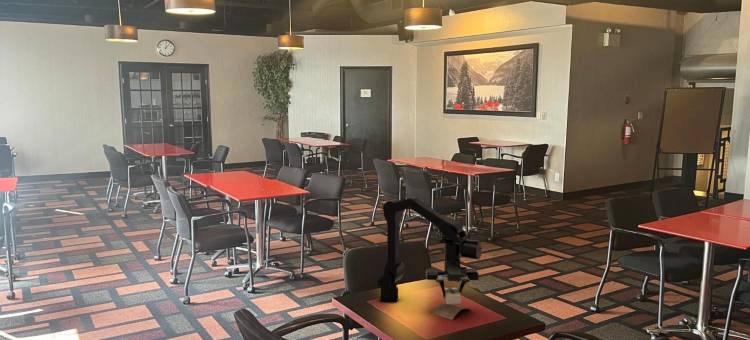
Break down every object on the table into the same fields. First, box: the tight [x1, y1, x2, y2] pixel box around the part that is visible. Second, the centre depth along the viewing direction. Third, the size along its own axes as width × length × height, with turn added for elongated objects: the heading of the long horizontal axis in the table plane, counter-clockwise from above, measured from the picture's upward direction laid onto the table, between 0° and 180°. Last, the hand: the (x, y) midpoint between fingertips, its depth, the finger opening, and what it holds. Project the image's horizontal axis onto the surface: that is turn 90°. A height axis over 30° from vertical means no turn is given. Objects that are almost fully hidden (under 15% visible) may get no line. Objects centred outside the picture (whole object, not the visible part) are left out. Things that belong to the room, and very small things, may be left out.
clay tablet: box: [431, 302, 471, 321], centre depth 216 cm, size 14×10×3 cm
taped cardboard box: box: [442, 287, 462, 304], centre depth 215 cm, size 7×5×4 cm
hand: (451, 296), depth 215 cm, fingers closed on taped cardboard box, 5 cm apart
